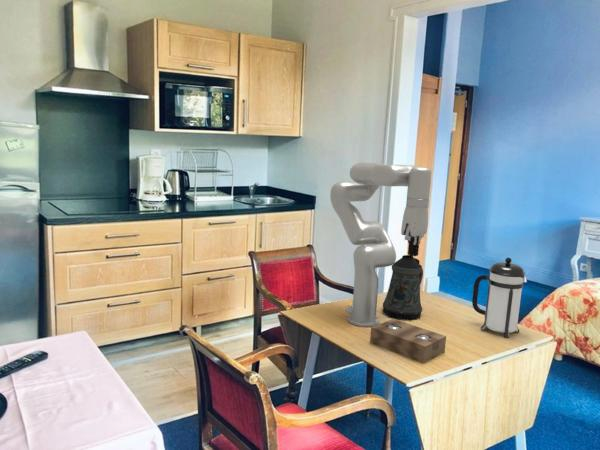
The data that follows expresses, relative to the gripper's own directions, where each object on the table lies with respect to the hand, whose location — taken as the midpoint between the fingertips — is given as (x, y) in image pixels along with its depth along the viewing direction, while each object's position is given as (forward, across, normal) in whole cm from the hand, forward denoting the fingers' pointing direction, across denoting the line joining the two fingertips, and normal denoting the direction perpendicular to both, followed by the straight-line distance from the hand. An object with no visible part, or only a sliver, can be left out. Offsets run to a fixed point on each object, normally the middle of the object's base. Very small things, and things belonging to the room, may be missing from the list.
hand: (412, 255), depth 179 cm
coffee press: (+33, -41, +16) cm, 55 cm away
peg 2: (+33, +2, +8) cm, 34 cm away
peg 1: (+33, +2, -4) cm, 33 cm away
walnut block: (+33, +2, +2) cm, 33 cm away
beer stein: (+33, -29, -20) cm, 48 cm away
